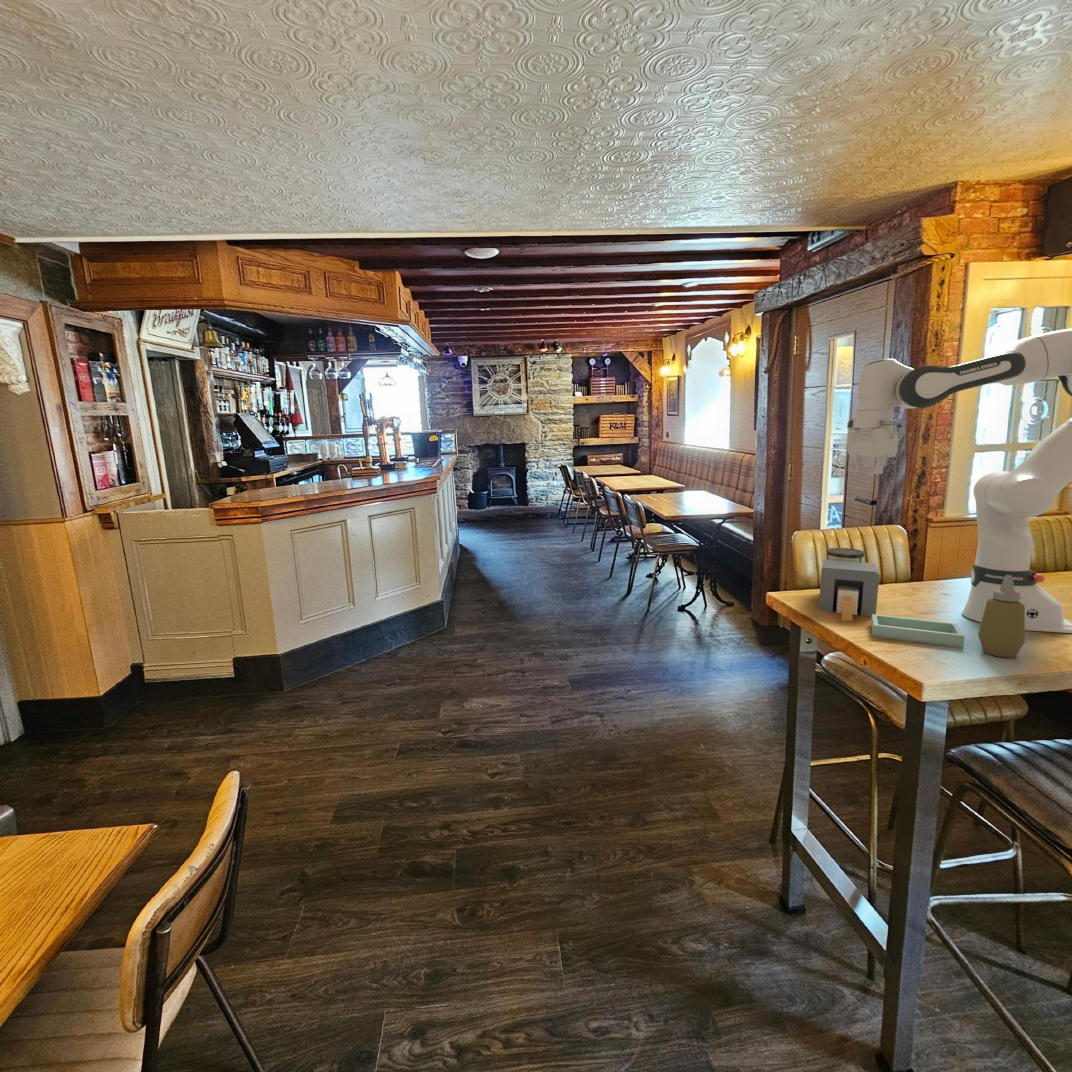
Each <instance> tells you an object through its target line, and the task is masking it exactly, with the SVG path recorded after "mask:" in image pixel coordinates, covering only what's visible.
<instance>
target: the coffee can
mask: <svg viewBox="0 0 1072 1072" xmlns="http://www.w3.org/2000/svg"><path fill="white" fill-rule="evenodd" d="M865 554H866V553H865V551H863V550H861V549H856V548H855V549H854V548H849V547H848V548H847V547H845V548H844V547H833V548H832V547H831V548H827V549H826V559H825V560H837V561H850V562H864V560H865ZM864 563H865V562H864Z"/></svg>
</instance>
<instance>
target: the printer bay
mask: <svg viewBox="0 0 1072 1072" xmlns="http://www.w3.org/2000/svg"><path fill="white" fill-rule="evenodd" d="M879 581H880V571H879V567H878V564H876V563H874V562H850V561H837V560H826V559H824V560H822V563H821V573H820V585H819V587H820V588H819V598H818V599H819V602H818V611H822V612H831V613H832V612H833V611H834V609H833V607H834V605H835V606H837V594H838V585H843V586H854V587H858V591H859V594H858V606H857V608H859V610H860V615H861V616H864V617H865V616H866V617H872V614H876V615H877V608H878V607H877V605H878V593H879V584H880V583H879Z"/></svg>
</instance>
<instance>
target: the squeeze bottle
mask: <svg viewBox="0 0 1072 1072" xmlns="http://www.w3.org/2000/svg"><path fill="white" fill-rule="evenodd" d="M1020 595H1021V594H1020V593H1019V592H1016V591H1015V590H1014V583H1013V577H1012V576H1010V575H1006V576H1005V578H1004V580H1003V583H1002V585H1001V587H1000V589H997V590H994V591H993V598H992V599H990V600H988V601H987V602H986V606H985V610H984V614H983V618H982V622H980V626H979V630H978V638H979V642H980V645H981V649H982V651H983V652H984V653H986V654H987V655H991V656H994V657H999V658H1008V659H1010V658H1011V659H1012V658H1016V656H1017V655H1018V654H1019V652H1020V650H1021V649H1022V647H1024V644H1025V642H1026V640H1025V639H1026V636H1025V634H1026V630H1025V606H1024V605H1023V604H1022V603H1021V602H1018V601H1020Z"/></svg>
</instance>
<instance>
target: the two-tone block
mask: <svg viewBox="0 0 1072 1072" xmlns="http://www.w3.org/2000/svg"><path fill="white" fill-rule="evenodd" d="M858 594H859V591H858V587H854V586H843V585H838V594H837V605H836V613H839V614H841V621H845V622H846V621H847V622H852V621H853V615H858V607H857V606H858Z"/></svg>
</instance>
